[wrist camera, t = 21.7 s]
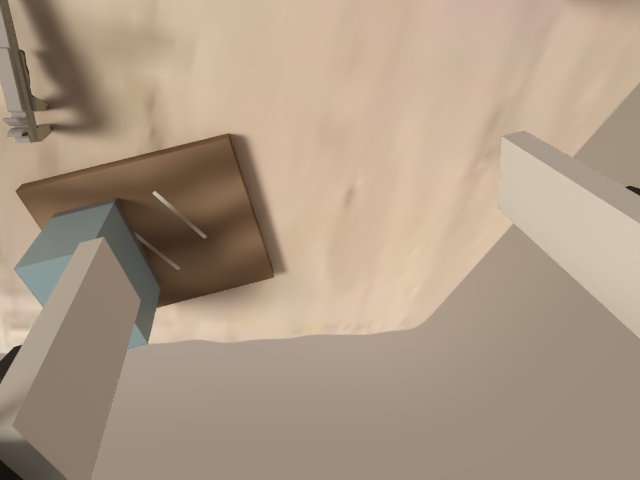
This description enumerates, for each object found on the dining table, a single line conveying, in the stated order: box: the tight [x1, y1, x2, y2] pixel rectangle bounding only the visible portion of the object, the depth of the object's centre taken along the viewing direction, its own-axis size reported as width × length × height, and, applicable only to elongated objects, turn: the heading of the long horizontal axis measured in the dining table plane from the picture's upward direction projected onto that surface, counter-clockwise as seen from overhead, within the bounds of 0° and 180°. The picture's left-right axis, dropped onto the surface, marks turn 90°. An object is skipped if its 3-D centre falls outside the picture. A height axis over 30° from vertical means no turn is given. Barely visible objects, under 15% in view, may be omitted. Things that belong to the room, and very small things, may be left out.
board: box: [16, 133, 274, 308], centre depth 45 cm, size 17×20×2 cm
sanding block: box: [14, 198, 162, 349], centre depth 40 cm, size 11×6×9 cm, turn 11°
